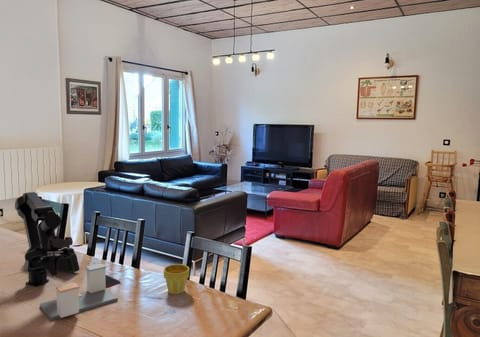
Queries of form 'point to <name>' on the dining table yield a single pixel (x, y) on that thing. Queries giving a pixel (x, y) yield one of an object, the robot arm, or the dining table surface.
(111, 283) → the smartphone
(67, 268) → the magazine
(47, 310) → the grey flat board
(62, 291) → the white box tan lid
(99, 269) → the grey rectangular block
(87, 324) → the dining table surface
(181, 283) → the plant pot
